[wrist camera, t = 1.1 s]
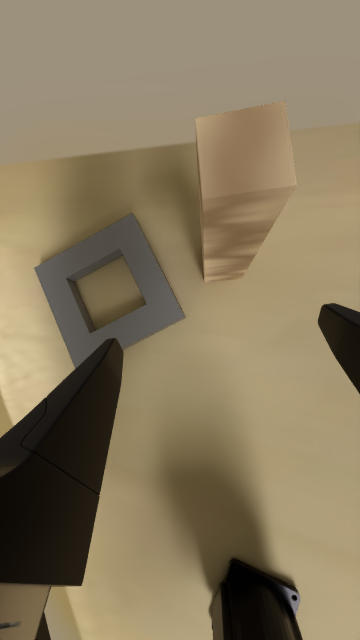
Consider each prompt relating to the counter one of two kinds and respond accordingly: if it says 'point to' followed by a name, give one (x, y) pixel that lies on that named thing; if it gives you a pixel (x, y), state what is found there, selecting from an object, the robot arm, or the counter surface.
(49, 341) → the counter surface
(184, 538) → the counter surface
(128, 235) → the socket board
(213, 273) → the maple peg
